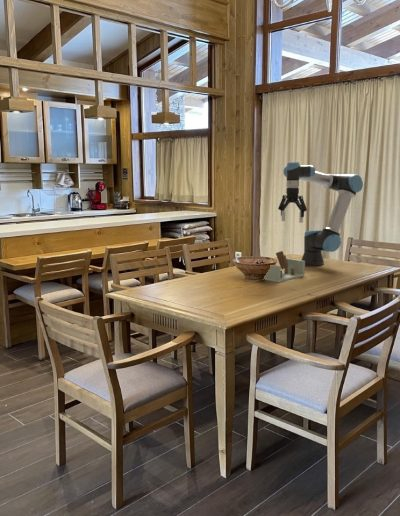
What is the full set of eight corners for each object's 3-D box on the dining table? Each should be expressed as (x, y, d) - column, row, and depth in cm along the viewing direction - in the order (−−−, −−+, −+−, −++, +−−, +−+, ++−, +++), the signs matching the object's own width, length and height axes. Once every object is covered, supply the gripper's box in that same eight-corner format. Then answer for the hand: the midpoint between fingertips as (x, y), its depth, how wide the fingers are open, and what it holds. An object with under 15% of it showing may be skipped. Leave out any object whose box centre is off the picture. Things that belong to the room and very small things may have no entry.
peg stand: (287, 272, 308) (287, 258, 306) (304, 275, 298) (304, 260, 297) (261, 278, 291) (261, 263, 290) (278, 282, 282) (278, 266, 280)
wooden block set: (282, 269, 304) (277, 253, 305) (295, 264, 300) (289, 249, 300) (270, 273, 289) (264, 256, 290) (283, 268, 284) (277, 252, 285)
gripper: (272, 187, 308) (272, 221, 312) (306, 187, 290) (305, 223, 294) (280, 187, 313) (279, 220, 317) (313, 187, 295) (312, 222, 299)
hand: (292, 221), depth 306 cm, fingers open, 13 cm apart
